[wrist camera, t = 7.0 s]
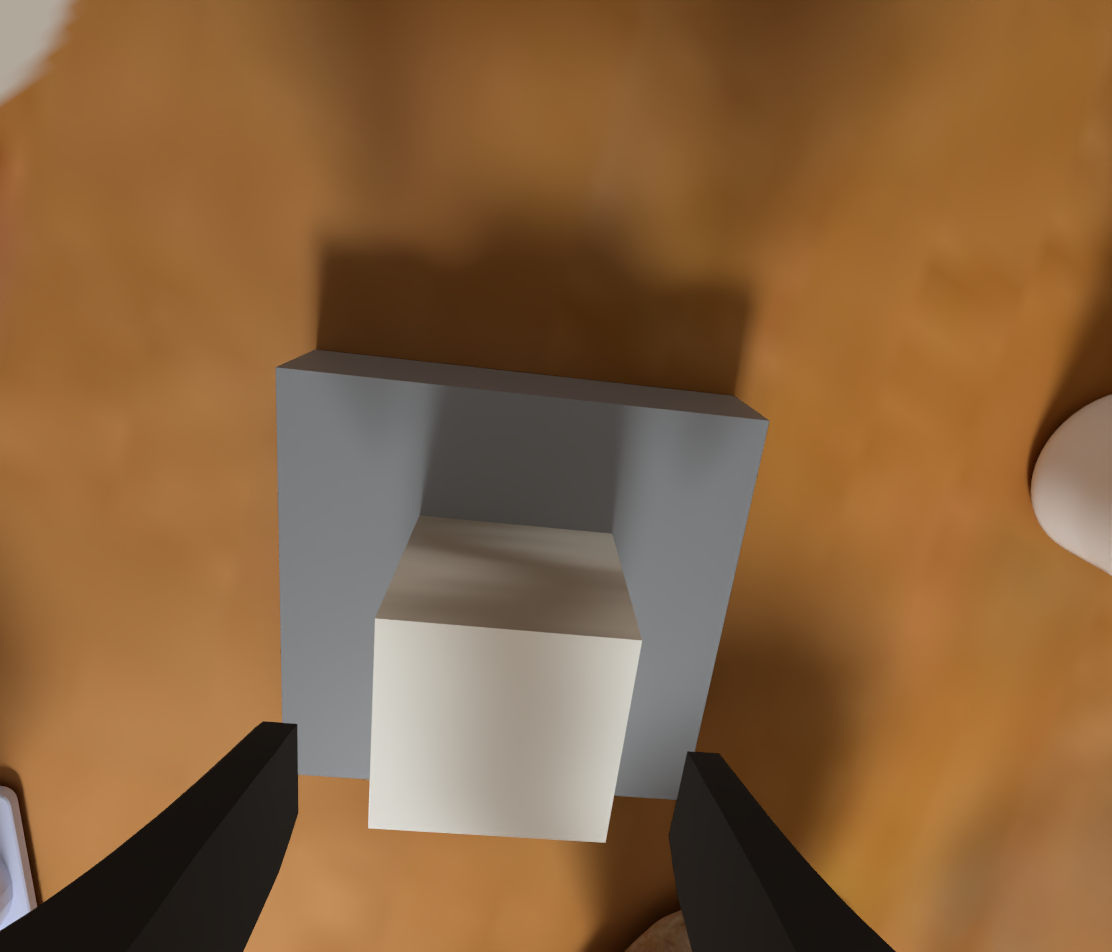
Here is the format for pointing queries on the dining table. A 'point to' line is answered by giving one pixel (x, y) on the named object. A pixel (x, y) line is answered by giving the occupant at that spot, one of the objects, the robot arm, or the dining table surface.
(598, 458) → the base
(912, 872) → the dining table surface
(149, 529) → the dining table surface
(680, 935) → the stone cup
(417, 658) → the cube
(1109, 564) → the drinking glass
